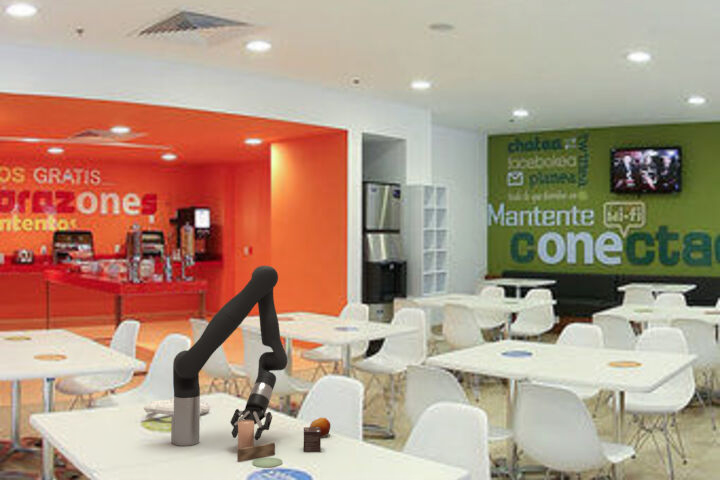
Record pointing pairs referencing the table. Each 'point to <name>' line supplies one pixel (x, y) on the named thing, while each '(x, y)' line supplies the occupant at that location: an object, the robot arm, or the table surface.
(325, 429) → the fruit
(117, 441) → the table surface
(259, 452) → the rail
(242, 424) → the peach dome-topped cylinder
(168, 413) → the pretzel
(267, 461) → the coaster
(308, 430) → the box
